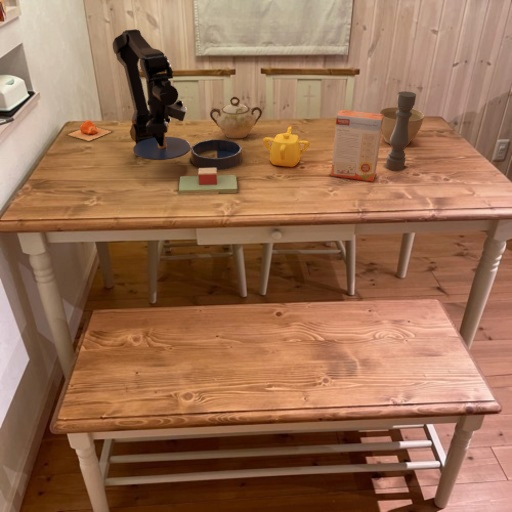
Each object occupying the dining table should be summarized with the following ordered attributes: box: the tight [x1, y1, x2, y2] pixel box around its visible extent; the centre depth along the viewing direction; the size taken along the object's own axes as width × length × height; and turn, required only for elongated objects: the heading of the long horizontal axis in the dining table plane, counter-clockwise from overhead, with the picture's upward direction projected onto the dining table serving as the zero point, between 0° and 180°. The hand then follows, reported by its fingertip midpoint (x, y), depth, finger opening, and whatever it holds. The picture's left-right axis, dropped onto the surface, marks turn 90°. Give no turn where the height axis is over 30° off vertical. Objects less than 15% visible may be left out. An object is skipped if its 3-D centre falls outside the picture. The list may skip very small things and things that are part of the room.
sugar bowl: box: [209, 96, 263, 139], centre depth 197 cm, size 20×15×15 cm
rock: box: [67, 120, 112, 142], centre depth 200 cm, size 12×12×4 cm
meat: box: [198, 167, 218, 185], centre depth 162 cm, size 6×4×4 cm
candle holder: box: [385, 91, 417, 172], centre depth 171 cm, size 6×6×25 cm
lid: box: [132, 133, 192, 161], centre depth 167 cm, size 18×18×6 cm
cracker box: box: [330, 109, 384, 183], centre depth 166 cm, size 14×6×21 cm, turn 71°
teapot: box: [262, 125, 310, 168], centre depth 178 cm, size 14×13×10 cm
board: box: [178, 174, 238, 194], centre depth 164 cm, size 18×10×2 cm, turn 94°
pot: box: [190, 138, 243, 171], centre depth 180 cm, size 17×17×4 cm
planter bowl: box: [379, 106, 425, 145], centre depth 194 cm, size 16×16×11 cm
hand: (161, 144), depth 167 cm, fingers closed on lid, 3 cm apart
